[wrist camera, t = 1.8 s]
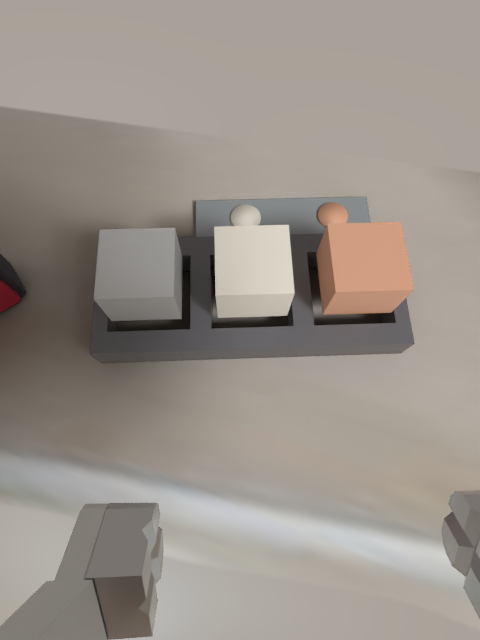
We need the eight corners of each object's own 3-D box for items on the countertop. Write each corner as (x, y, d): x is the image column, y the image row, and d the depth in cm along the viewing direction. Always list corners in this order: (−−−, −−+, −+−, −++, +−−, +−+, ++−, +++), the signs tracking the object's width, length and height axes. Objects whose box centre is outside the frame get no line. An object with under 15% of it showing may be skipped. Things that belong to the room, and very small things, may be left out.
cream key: (282, 254, 30) (288, 224, 26) (286, 315, 28) (294, 293, 24) (216, 256, 29) (214, 226, 26) (217, 317, 28) (215, 295, 24)
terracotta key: (381, 251, 30) (401, 221, 26) (391, 312, 28) (413, 289, 25) (316, 253, 30) (327, 223, 26) (322, 314, 28) (335, 292, 24)
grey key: (182, 256, 29) (175, 227, 26) (181, 318, 28) (173, 296, 24) (116, 258, 29) (99, 229, 26) (111, 321, 28) (93, 299, 24)
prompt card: (365, 199, 35) (367, 195, 34) (371, 237, 34) (373, 233, 33) (196, 203, 35) (195, 199, 34) (196, 242, 33) (195, 238, 33)
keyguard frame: (382, 248, 33) (394, 231, 31) (400, 353, 31) (414, 343, 28) (109, 255, 33) (99, 239, 31) (101, 362, 30) (89, 353, 28)
